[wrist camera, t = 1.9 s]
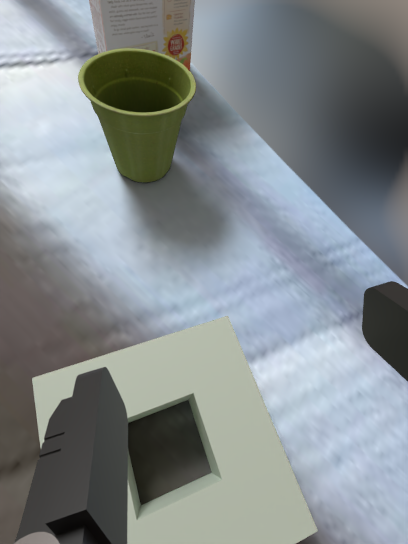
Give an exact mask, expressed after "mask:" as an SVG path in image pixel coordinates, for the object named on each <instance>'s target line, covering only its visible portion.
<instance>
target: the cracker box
mask: <svg viewBox="0 0 408 544" xmlns="http://www.w3.org/2000/svg"><path fill="white" fill-rule="evenodd" d="M89 2H90V8H91V13H92V19H93V25H94V31H95V37H96V43H97V49H98V54H100V53H102V52H106V51H110V50H114V49H122V48H135V49H145V50H151V51H155V52H158V53H161V54H164V55H167V56H169V57H171V58H173V59H175V60H177V61H179V62H180V63H182V64H183V65H184V66H185V67H186V68H187V69H188V70H189V71H190V59H191V46H192V32H193V17H194V4H195V0H89Z"/></svg>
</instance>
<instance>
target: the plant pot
mask: <svg viewBox="0 0 408 544" xmlns="http://www.w3.org/2000/svg"><path fill="white" fill-rule="evenodd" d="M78 81H79V85H80V88H81V90H82V91H83V93H84V94H85V95H86V97H87V98H88V99H90V101H91V104H92V106H93V109H94V111H95V113H96V114H97V115H98V118H99V120H100V123H101V126H102V128H103V131H104V134H105V137H106V139H107V142H108V145H109V148H110V150H111V153H112V156H113V159H114V161H115V164H116V167H117V169H118V171H119V172H120V173H121V174H122V175H123V176H126V177H128V178H130V179H132V180H133V181H136V182H152V181H156V180H158V179H160V178H162V177H163V176H164V175H165V174H166V173H167V172H168V170H169V169H170V166H171V162H172V158H173V154H174V149H175V145H176V141H177V137H178V133H179V129H180V125H181V121H182V118H183V117H184V115H185V112H186V108H187V104H188V103H189V102H190V101H191V100H192V98H193V96H194V94H195V91H196V82H195V79H194V77H193V75H192V73H191V72H190V71H189V70H188V69H187V68H186V67H185V66H184V65H183V64H182V63H180V62H179V61H177V60H175V59H173V58H171V57H169V56H167V55H164V54H161V53H158V52H155V51H151V50H145V49H135V48H122V49H114V50H110V51H106V52H102V53H100V54H98V55H96V56H94V57H92V58H90V59H89V60H88V61H86V62H85V63H84V65H83V66H82V68H81V69H80V72H79V75H78Z"/></svg>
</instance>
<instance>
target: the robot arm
mask: <svg viewBox="0 0 408 544" xmlns="http://www.w3.org/2000/svg"><path fill="white" fill-rule="evenodd" d="M362 331H363V335H364V337H365V339H366V341H367V343H368V344H369V345H370V347H371V348H372V349H373V350H375V351H376V352H377V353H378V354H379V355H380V356H381V357H382V358H383V359H384V360H385V361H386V362H387V363H388V364H390V365H391V366H392V367H393V368H394V369H395V370H396V371H397V372H398V373H399V374H400V375H401V376H402V377H403V378H405V379H406V380H407V381H408V289H407V288H405V287H403V286H402V285H400V284H398V283H396V282H392V281H391V282H387V283H384V284H381V285H377V286H374V287H371V288H368V289H367V290H366V291H365V293H364V305H363V322H362ZM39 456H40V460H38V462H37V466H36V469H35V473H34V477H33V480H32V484H31V487H30V491H29V495H28V498H27V502H26V506H25V509H24V513H23V517H22V520H21V524H20V528H19V531H18V534H17V537H16V540H15V542H14V544H127V511H128V417H127V412H126V408H125V404H124V402H123V400H122V398H121V395H120V393H119V391H118V389H117V387H116V385H115V383H114V381H113V379H112V376H111V374H110V372H109V370H108V369H107V368H106V367H102V368H99V369H96V370H92V371H89V372H86V373H83V374H79V375H78V376H77V378H76V381H75V386H74V390H73V395H72V397H69V398H66V399H63V400H61V402H60V403H59V405H58V406H57V408H56V409H55V411H54V412H53V414H52V415H51V417H50V418H49V422H48V425H47V429H46V433H45V436H44V442H43V444H42V447H41V451H40V455H39Z"/></svg>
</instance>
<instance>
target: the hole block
mask: <svg viewBox="0 0 408 544" xmlns="http://www.w3.org/2000/svg"><path fill="white" fill-rule="evenodd" d="M102 367H106V368H107V369H108V370H109V372H110V374H111V376H112V379H113V381H114V383H115V385H116V387H117V389H118V391H119V393H120V395H121V398H122V400H123V402H124V404H125V408H126V412H127V417H128V423H129V422H132V421H135V420H137V419H140V418H142V417H145V416H148V415H150V414H153V413H155V412H158V411H161V410H163V409H166V408H168V407H171V406H174V405H176V404H179V403H181V402H184V401H187V400H189V404H190V407H191V410H192V413H193V416H194V419H195V422H196V425H197V429H198V432H199V435H200V438H201V441H202V444H203V447H204V450H205V453H206V457H207V460H208V463H209V466H210V469H211V472H212V473H210V474H208V475H205V476H203V477H201V478H199V479H197V480H195V481H193V482H190V483H188V484H186V485H184V486H182V487H180V488H177V489H175V490H173V491H171V492H169V493H167V494H164V495H162V496H160V497H158V498H156V499H154V500H151V501H149V502H147V503H145V504H143V505H141V503H140V499H139V494H138V490H137V486H136V481H135V477H134V472H133V468H132V464H131V459H130V455H129V451H128V511H127V544H296V543H298V542H300V541H301V540H303V539H305V538H307V537H308V536H310V535H312V534H313V533H315V532H317V531H318V530H317V528H316V525H315V523H314V521H313V518H312V516H311V513H310V511H309V509H308V506H307V504H306V501H305V499H304V497H303V494H302V492H301V490H300V487H299V485H298V482H297V480H296V478H295V475H294V473H293V470H292V468H291V466H290V463H289V461H288V458H287V456H286V454H285V451H284V449H283V446H282V444H281V442H280V439H279V437H278V435H277V432H276V430H275V427H274V425H273V423H272V420H271V418H270V415H269V413H268V411H267V408H266V406H265V403H264V401H263V399H262V396H261V394H260V392H259V389H258V387H257V384H256V382H255V380H254V377H253V375H252V372H251V370H250V368H249V365H248V363H247V360H246V358H245V356H244V353H243V351H242V348H241V346H240V344H239V341H238V339H237V337H236V334H235V332H234V329H233V327H232V325H231V322H230V320H229V317H228V316H225V317H222V318H219V319H216V320H213V321H210V322H207V323H203V324H200V325H197V326H194V327H191V328H188V329H185V330H182V331H178V332H175V333H172V334H169V335H166V336H163V337H160V338H156V339H153V340H150V341H147V342H144V343H141V344H138V345H135V346H131V347H128V348H125V349H122V350H119V351H116V352H113V353H109V354H106V355H103V356H100V357H97V358H94V359H91V360H88V361H84V362H81V363H78V364H75V365H72V366H69V367H66V368H62V369H59V370H56V371H53V372H50V373H47V374H44V375H41V376H37V377H34V378H32V381H33V389H34V398H35V406H36V414H37V422H38V431H39V439H40V447H42V444H43V442H44V436H45V433H46V429H47V425H48V422H49V418H50V417H51V415H52V414H53V412H54V411H55V409H56V408H57V406H58V405H59V403H60V402H61V400H63V399H66V398H69V397H72V395H73V390H74V386H75V381H76V378H77V376H78V375H79V374H83V373H86V372H89V371H92V370H96V369H99V368H102Z"/></svg>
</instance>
